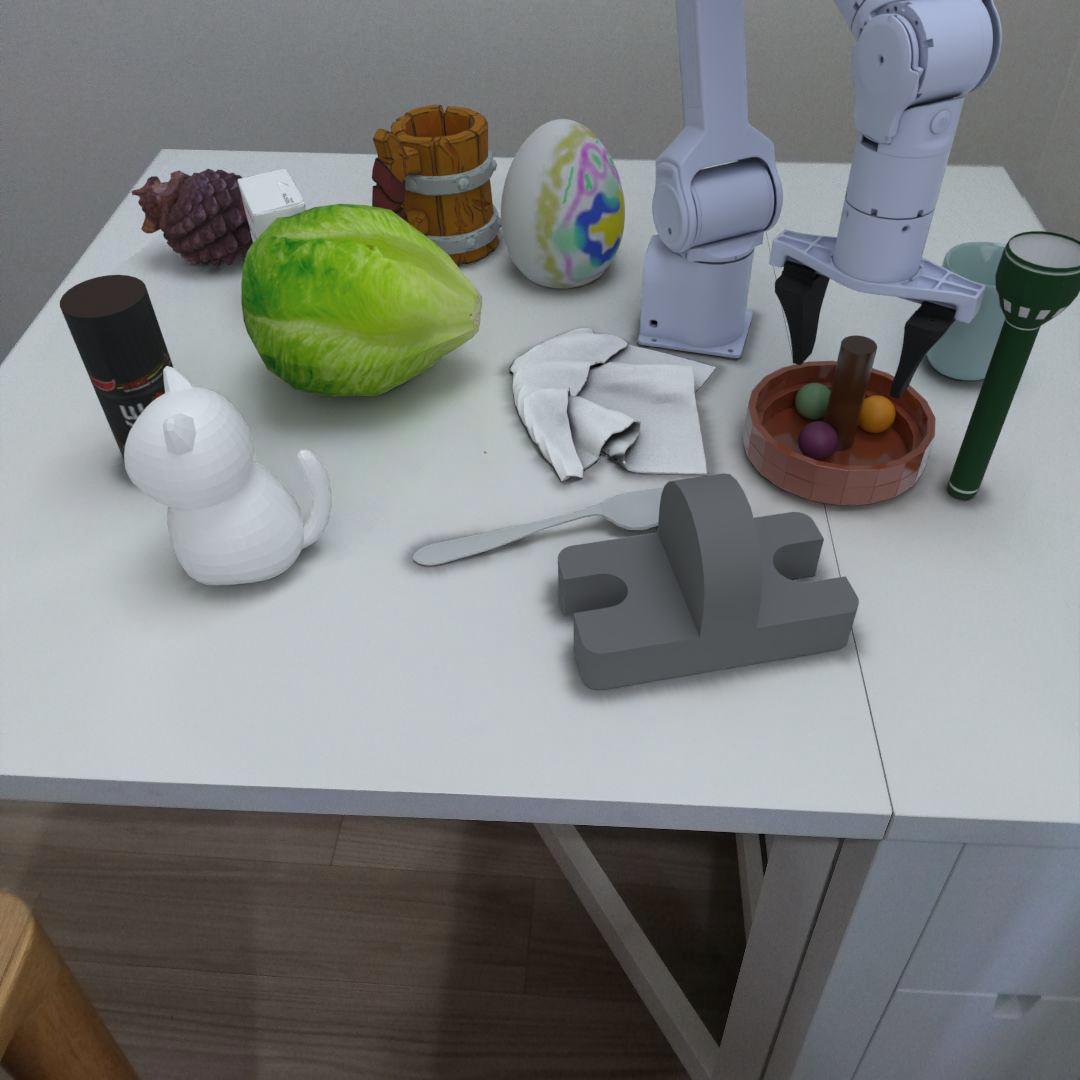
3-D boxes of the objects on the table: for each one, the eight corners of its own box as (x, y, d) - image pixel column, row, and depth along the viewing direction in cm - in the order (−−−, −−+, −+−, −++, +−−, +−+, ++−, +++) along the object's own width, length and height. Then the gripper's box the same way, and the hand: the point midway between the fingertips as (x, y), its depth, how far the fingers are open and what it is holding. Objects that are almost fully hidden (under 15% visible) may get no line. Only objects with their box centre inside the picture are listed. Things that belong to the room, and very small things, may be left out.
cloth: (571, 318, 94) (570, 295, 92) (780, 391, 84) (784, 368, 83) (434, 427, 82) (431, 403, 80) (660, 526, 73) (662, 502, 71)
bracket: (853, 646, 64) (890, 526, 56) (585, 692, 62) (586, 574, 54) (798, 546, 71) (825, 427, 63) (555, 584, 69) (552, 466, 61)
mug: (521, 233, 106) (515, 90, 96) (430, 301, 97) (412, 150, 86) (442, 211, 111) (427, 72, 100) (347, 274, 101) (320, 127, 91)
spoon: (692, 527, 72) (694, 510, 71) (417, 580, 69) (414, 563, 68) (674, 491, 75) (675, 475, 74) (409, 540, 72) (406, 524, 71)
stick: (814, 442, 78) (834, 346, 72) (829, 426, 80) (851, 331, 73) (843, 455, 77) (867, 358, 71) (859, 438, 78) (883, 342, 72)
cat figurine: (170, 532, 74) (103, 364, 63) (336, 499, 76) (297, 332, 65) (170, 618, 67) (95, 448, 57) (351, 580, 69) (311, 409, 59)
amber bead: (853, 412, 77) (844, 408, 80) (875, 443, 77) (865, 437, 80) (886, 389, 76) (876, 386, 79) (907, 420, 77) (896, 415, 80)
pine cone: (304, 217, 110) (314, 160, 101) (305, 294, 108) (316, 242, 99) (135, 196, 105) (130, 133, 96) (132, 278, 102) (126, 220, 93)
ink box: (262, 288, 99) (234, 175, 91) (310, 278, 101) (286, 165, 92) (279, 329, 94) (251, 212, 85) (330, 318, 95) (307, 201, 87)
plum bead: (789, 441, 75) (797, 416, 77) (800, 469, 77) (807, 444, 79) (828, 436, 73) (835, 410, 75) (839, 465, 75) (845, 440, 77)
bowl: (730, 492, 75) (736, 452, 72) (756, 389, 85) (762, 350, 82) (920, 525, 72) (933, 484, 69) (924, 414, 81) (937, 374, 79)
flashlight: (1007, 488, 75) (1105, 245, 61) (980, 523, 72) (1077, 278, 58) (943, 461, 77) (1023, 222, 63) (915, 495, 74) (992, 253, 60)
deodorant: (135, 491, 77) (66, 326, 67) (121, 450, 81) (53, 287, 70) (209, 467, 79) (153, 303, 68) (192, 428, 83) (137, 267, 72)
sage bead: (781, 404, 80) (802, 373, 79) (799, 407, 82) (820, 377, 81) (807, 425, 79) (829, 394, 77) (825, 428, 81) (846, 398, 79)
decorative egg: (571, 313, 94) (570, 160, 84) (479, 274, 100) (468, 126, 90) (646, 264, 101) (654, 116, 90) (555, 230, 107) (553, 87, 96)
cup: (1013, 397, 83) (1053, 291, 76) (917, 388, 84) (948, 284, 77) (1001, 346, 88) (1037, 244, 81) (911, 339, 90) (940, 237, 83)
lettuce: (469, 450, 83) (471, 306, 72) (232, 430, 83) (196, 282, 71) (485, 326, 94) (490, 182, 82) (275, 307, 93) (250, 160, 82)
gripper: (1022, 203, 63) (964, 379, 72) (813, 153, 69) (784, 321, 79) (986, 248, 59) (929, 428, 68) (767, 190, 65) (743, 362, 75)
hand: (849, 374), depth 73 cm, fingers open, 7 cm apart
